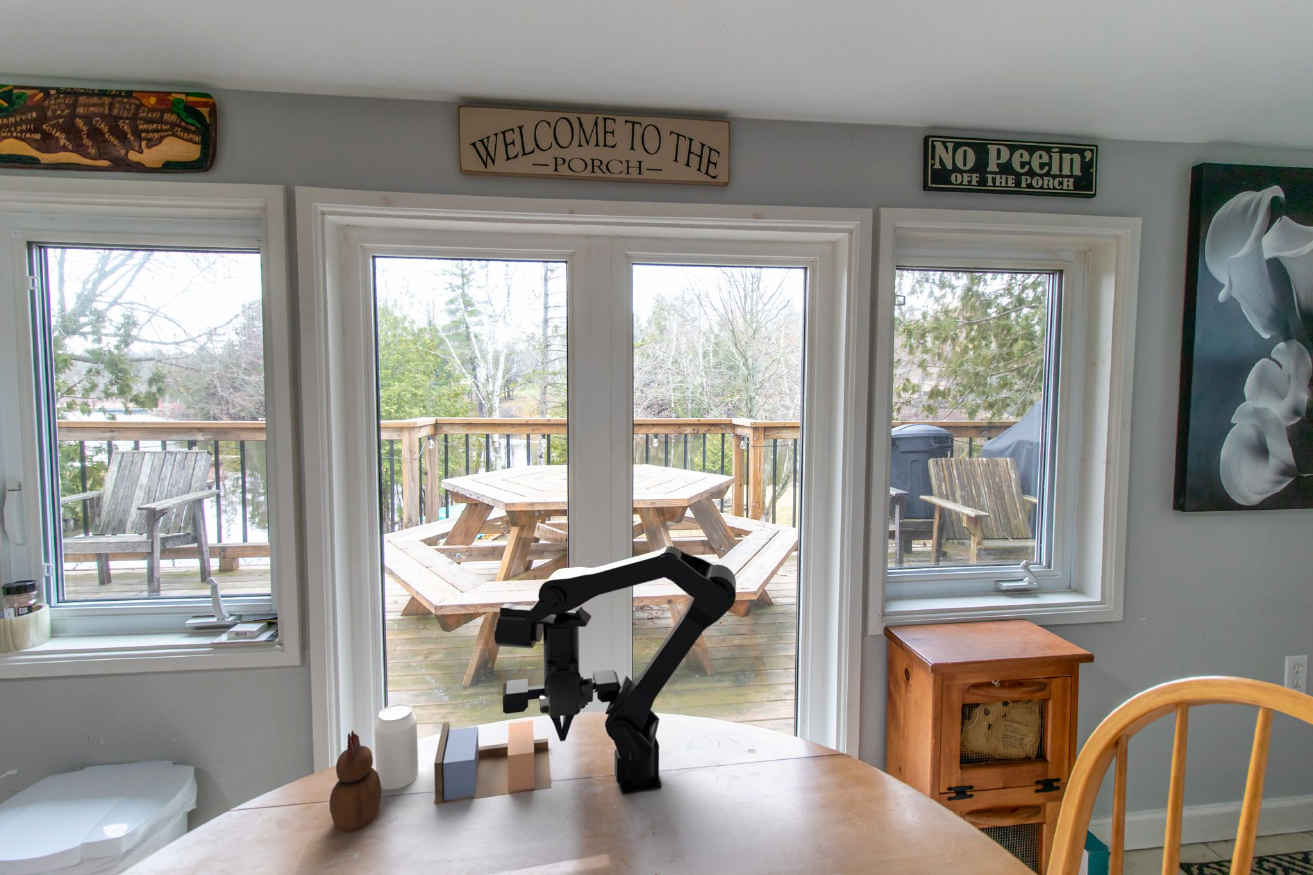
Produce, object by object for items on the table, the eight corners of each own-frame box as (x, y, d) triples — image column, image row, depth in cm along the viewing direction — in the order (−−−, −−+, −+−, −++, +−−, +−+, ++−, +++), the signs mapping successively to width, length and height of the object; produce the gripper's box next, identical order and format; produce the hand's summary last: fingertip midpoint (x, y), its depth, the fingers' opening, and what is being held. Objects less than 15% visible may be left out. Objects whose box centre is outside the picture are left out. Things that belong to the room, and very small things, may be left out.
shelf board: (548, 751, 105) (547, 710, 105) (551, 793, 95) (551, 748, 94) (442, 765, 101) (441, 722, 101) (433, 810, 91) (432, 763, 90)
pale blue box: (478, 760, 101) (478, 726, 101) (475, 796, 92) (474, 759, 92) (450, 763, 100) (449, 729, 100) (444, 800, 91) (443, 763, 91)
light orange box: (533, 753, 103) (532, 720, 102) (534, 788, 94) (534, 752, 94) (509, 756, 102) (508, 723, 102) (508, 792, 93) (507, 755, 93)
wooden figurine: (358, 844, 84) (354, 742, 83) (323, 838, 85) (318, 737, 84) (389, 810, 91) (386, 715, 89) (355, 805, 92) (351, 711, 90)
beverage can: (422, 768, 100) (420, 699, 99) (412, 793, 94) (410, 720, 93) (383, 771, 100) (381, 702, 98) (371, 797, 93) (368, 723, 92)
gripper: (500, 678, 88) (503, 779, 89) (626, 665, 92) (626, 761, 94) (502, 646, 99) (504, 736, 100) (615, 635, 103) (615, 722, 104)
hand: (562, 739), depth 99 cm, fingers closed
